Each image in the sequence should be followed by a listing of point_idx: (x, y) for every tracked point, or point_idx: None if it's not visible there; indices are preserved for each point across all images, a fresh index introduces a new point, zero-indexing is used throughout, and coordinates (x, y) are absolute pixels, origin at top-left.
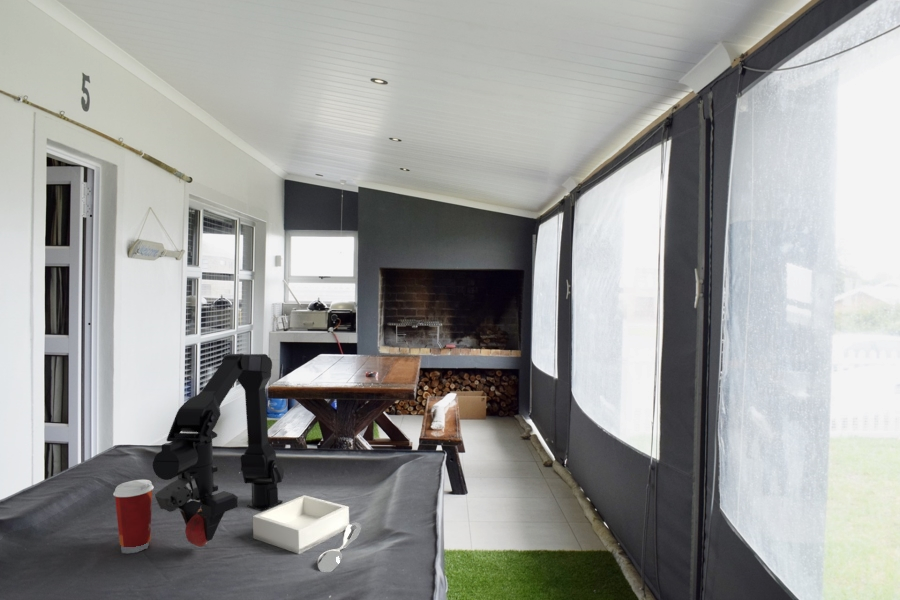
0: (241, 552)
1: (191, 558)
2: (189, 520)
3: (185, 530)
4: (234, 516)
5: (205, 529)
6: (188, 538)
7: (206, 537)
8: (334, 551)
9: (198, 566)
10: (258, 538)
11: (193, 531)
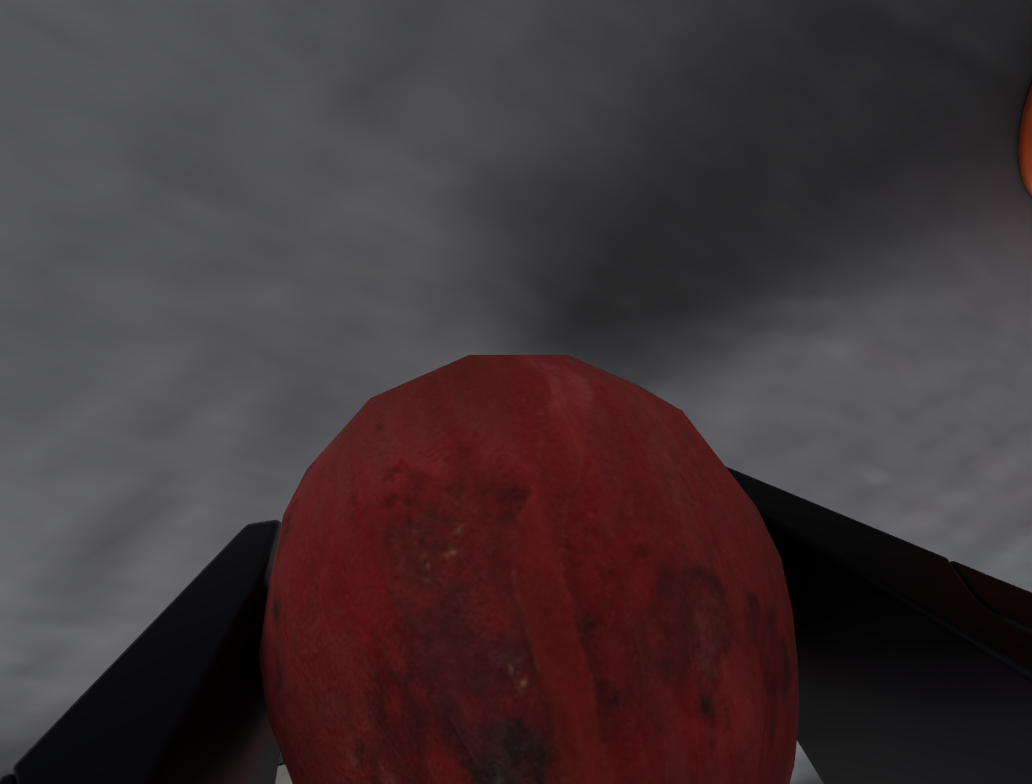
0: (138, 633)
1: (437, 289)
2: (753, 628)
3: (676, 421)
4: None
5: (153, 686)
6: (496, 358)
7: (244, 553)
8: None
9: (139, 226)
10: (276, 780)
11: (382, 486)
